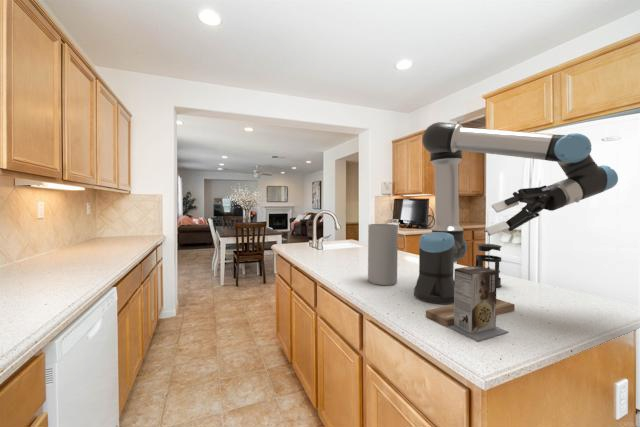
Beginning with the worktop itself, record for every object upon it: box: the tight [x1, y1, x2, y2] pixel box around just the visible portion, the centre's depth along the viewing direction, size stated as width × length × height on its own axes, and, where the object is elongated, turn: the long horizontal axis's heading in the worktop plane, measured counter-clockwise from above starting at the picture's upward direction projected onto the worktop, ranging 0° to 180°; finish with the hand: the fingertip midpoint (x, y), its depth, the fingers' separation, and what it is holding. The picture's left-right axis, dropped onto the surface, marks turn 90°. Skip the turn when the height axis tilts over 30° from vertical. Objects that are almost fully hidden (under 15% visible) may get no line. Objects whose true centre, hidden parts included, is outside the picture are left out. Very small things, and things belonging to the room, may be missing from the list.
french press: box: [475, 230, 503, 289], centre depth 122 cm, size 12×9×23 cm
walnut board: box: [425, 298, 515, 328], centre depth 90 cm, size 8×30×2 cm, turn 115°
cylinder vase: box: [367, 223, 399, 286], centre depth 126 cm, size 12×12×25 cm
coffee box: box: [453, 265, 497, 334], centre depth 79 cm, size 9×6×16 cm
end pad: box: [447, 325, 509, 342], centre depth 78 cm, size 9×12×1 cm
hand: (490, 221), depth 91 cm, fingers open, 13 cm apart
